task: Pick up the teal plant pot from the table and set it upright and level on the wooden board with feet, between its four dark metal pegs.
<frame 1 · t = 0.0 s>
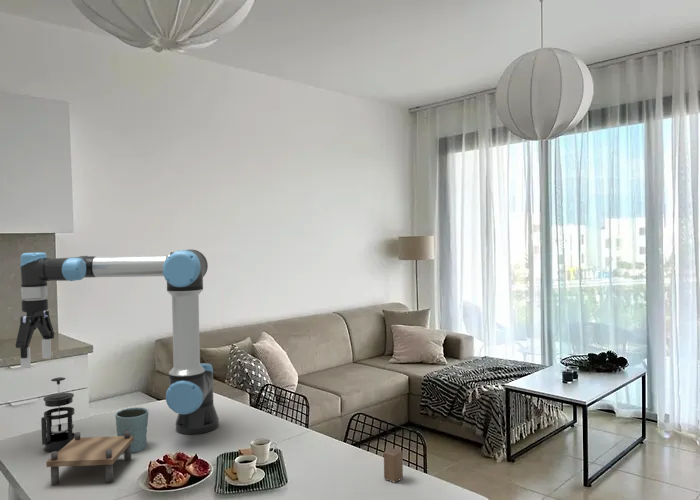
hand: (36, 362, 182), 28 cm above the table, tool pointing down, fingers open, 13 cm apart
wooden board with feet: (93, 471, 163), on the table
wooden block: (393, 479, 155), on the table
teal plant pot: (133, 448, 180), on the table
french press: (59, 448, 182), on the table
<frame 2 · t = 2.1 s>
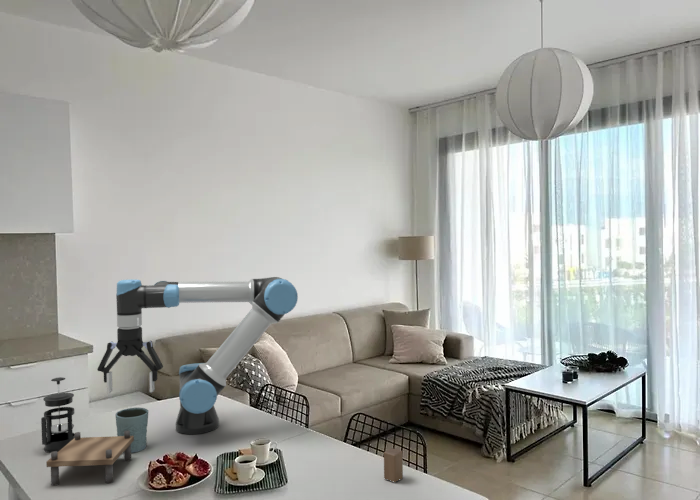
hand: (131, 391, 180), 19 cm above the table, tool pointing down, fingers open, 13 cm apart
nothing on the table moved.
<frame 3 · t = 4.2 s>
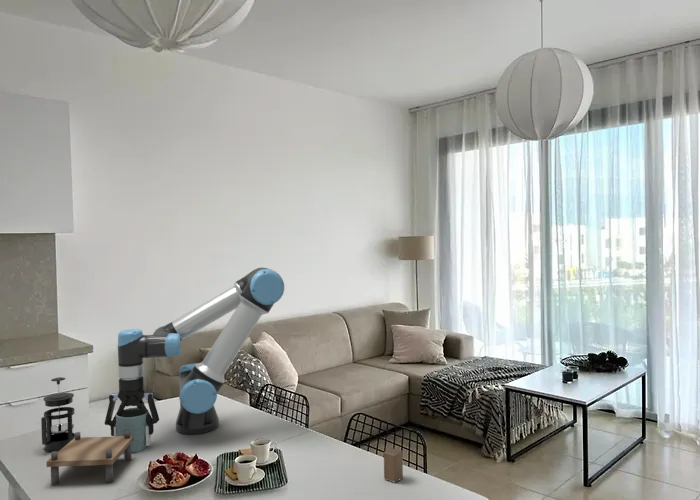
hand: (132, 444, 180), 1 cm above the table, tool pointing down, fingers closed on teal plant pot, 9 cm apart
teal plant pot: (133, 448, 180), on the table, touching gripper
everything else where it was.
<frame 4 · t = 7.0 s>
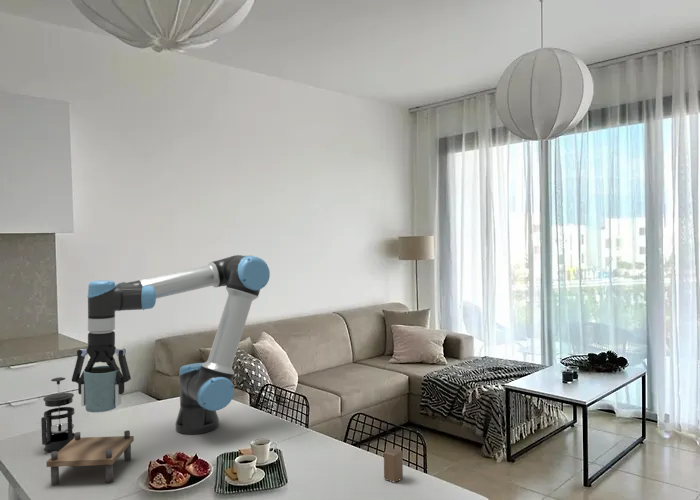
hand: (101, 404, 167), 18 cm above the table, tool pointing down, fingers closed on teal plant pot, 9 cm apart
teal plant pot: (101, 408, 168), point 17 cm above the table, touching gripper
everything else where it was.
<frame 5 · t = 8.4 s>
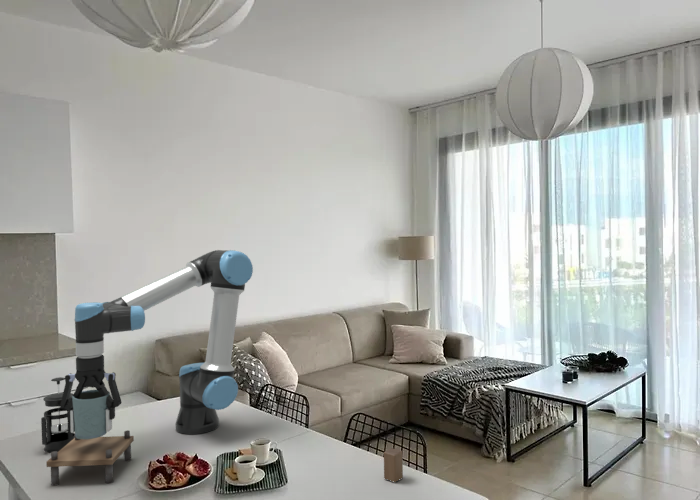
hand: (91, 430, 163), 12 cm above the table, tool pointing down, fingers closed on teal plant pot, 9 cm apart
teal plant pot: (92, 434, 163), point 11 cm above the table, touching gripper
everything else where it was.
when the fingers open (10 cm above the table, at t = 9.8 s): teal plant pot drops 1 cm, resting on wooden board with feet.
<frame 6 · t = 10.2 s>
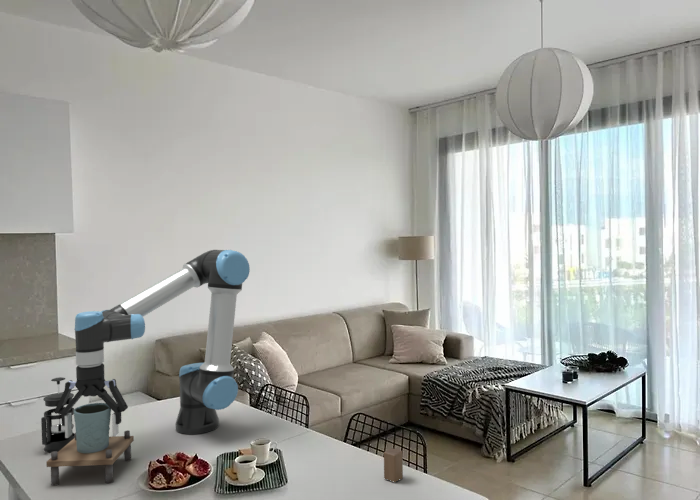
hand: (92, 435, 163), 11 cm above the table, tool pointing down, fingers open, 13 cm apart
teal plant pot: (93, 448, 163), point 7 cm above the table, touching wooden board with feet
everything else where it was.
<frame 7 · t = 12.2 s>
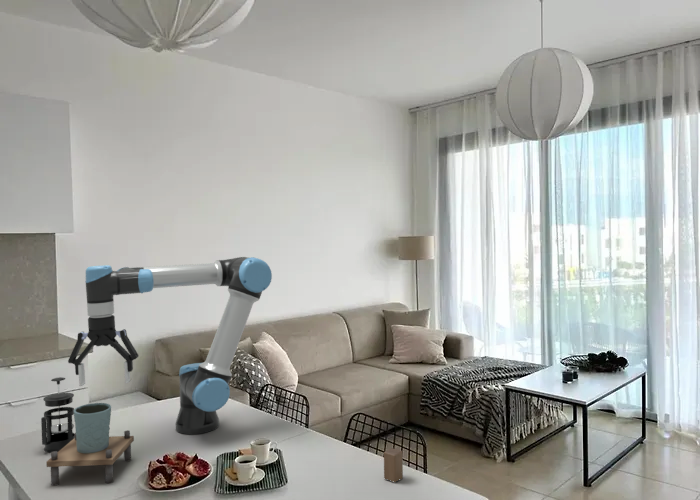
hand: (105, 383, 171), 24 cm above the table, tool pointing down, fingers open, 13 cm apart
nothing on the table moved.
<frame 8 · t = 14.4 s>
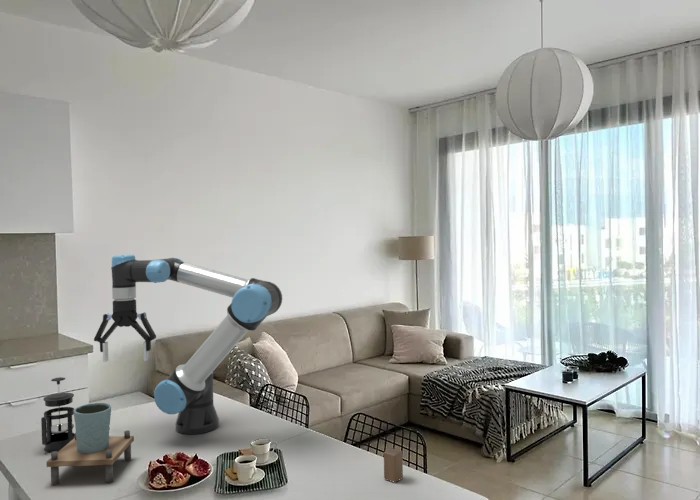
hand: (126, 360, 189), 27 cm above the table, tool pointing down, fingers open, 13 cm apart
nothing on the table moved.
at the end: teal plant pot inside the target area on the wooden board with feet (0.3 cm from its centre), point 6.8 cm above the wooden board with feet's base; teal plant pot tilted 0°; teal plant pot touching wooden board with feet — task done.
